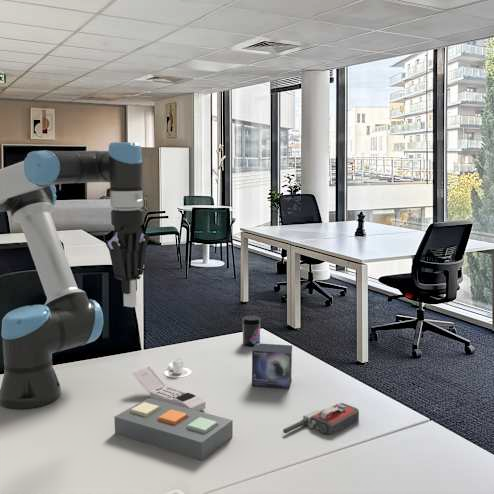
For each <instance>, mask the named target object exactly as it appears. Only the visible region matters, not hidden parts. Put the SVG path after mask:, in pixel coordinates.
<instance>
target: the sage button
mask: <svg viewBox="0 0 494 494" xmlns="http://www.w3.org/2000/svg"><path fill="white" fill-rule="evenodd" d="M216 426H217V422H216V421H213V420H209V419H205V418H202V417H199V418H198V419H196V420H195V421H193V422H192V423H190V424H189V425H188V429H189V430H193V431H196V432H200V433H203V434H207V433H208V432H209V431H211V430H212V429H214V428H215V427H216Z"/></svg>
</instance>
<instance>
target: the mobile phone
mask: <svg viewBox="0 0 494 494" xmlns="http://www.w3.org/2000/svg"><path fill="white" fill-rule="evenodd" d="M132 375H133V377H135V379H136V380H137V381H138V383H140V385H142V386H143V388H144V389H145V390H146V391H147V393H149V395H150V398H151V399H154V400H158V401H162V402H166V403H170V404H173V405H177V406H181V407H185V408H188V409H192V410H196V411H200V412H202V411H203V410H205V409H206V407H207V406H206V405H207V404H206V402H207V401H206V400H205V399H203V398H201V397H200V396H197V394H194V393H192V392H189V391H188V392H186V391H183V390H180V389H178V388H177V389H176V388H174V387H171V386H169V385H166V384H164V382H163V381H162V380H161V379H160V378H159V376H158V375H157V374H156V373H155V371H154V369H152V368H151V366H148V367H144V368H141V369H139V370H135V371H133V372H132Z"/></svg>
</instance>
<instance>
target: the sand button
mask: <svg viewBox="0 0 494 494" xmlns="http://www.w3.org/2000/svg"><path fill="white" fill-rule="evenodd" d="M159 410H160V408H159V406H157V405H153V404H150V403H146V402H143V403H141V404H140V405H138V406H136V407H134V408H132V409H131V413H133V414H137V415H140V416H144V417H148V416H150V415H152V414H154V413H155V412H157V411H159Z"/></svg>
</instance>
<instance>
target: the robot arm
mask: <svg viewBox="0 0 494 494" xmlns="http://www.w3.org/2000/svg"><path fill="white" fill-rule="evenodd" d="M142 155H143V154H142V146H141V145H140V143H139V142H128V141H127V142H126V141H125V142H119V141H117V142H116V141H115V142H110V143H109V145H108V151H106V150H70V151H69V150H47V149H45V150H44V149H43V150H33V151H30V152H28V153H27V155H26V157H25V158H24V160H22V161H19V162H17V163H14V164H12V165H8V166H6V167H3V168H0V213H4V212H10V215H11V218H12V220H13V221H14V222H15V223H19V224H20V227H21V230H22V231H23V234H24V238H25V240H26V244H27V246H28V249H29V252H30V254H31V258H32V260H33V263H34V266H35V270H36V271H37V274H38V277H39V280H40V283H41V285H42V289H43V291H44V295H45V296H46V302H45V303H44V304H33V305H25V306H21V307H16V308H15V309H12V310H10V311H9V312H7V313H6V314H5V315H4V317H2V320H1V331H0V333H1V335H0V336H1V340H2V354H3V356H2V357H3V366H4V367H3V368H4V374H3V377H2V380H1V383H0V384H1V385H0V405H1V406H2V407H4V408H8V409H12V410H13V409H14V410H15V409H16V410H17V409H18V410H27V409H32V408H33V409H34V408H38V407H42V406H45V405H48V404H51V403H53V402H54V401H56V400H57V399H59V397H60V396H61V394H62V393H61V391H62V390H61V383H60V381H59V379H58V376H57V374H56V372H55V369H54V367H53V356H52V355H53V354H54V353H58V352H62V351H65V350H69V349H74V348H77V347H79V346H85V345H87V344H90V343H93V342H95V341H96V340H97V339H98V338H99V337H100V336H101V334H102V331H103V327H104V314H103V309H102V307H101V306H100V304H99V303H98V302H97V301H96V300H94V299H91V298H88V295H87V293H86V291H84V290H82V289H80V288H78V285H77V283H76V280H75V276H74V274H73V272H72V269H71V266H70V264H69V260H68V258H67V256H66V253H65V250H64V247H63V245H62V242H61V239H60V237H59V234H58V231H57V228H56V226H55V223H54V219H53V217H52V215H51V214H52V213H53V212H54V208H55V207H54V205H56V204H55V203H56V200H57V195H56V193H57V188H56V186H55V185H62V184H63V185H64V184H82V183H83V184H86V183H87V184H88V183H91V184H92V183H109V192H110V193H109V195H110V196H109V197H110V207H111V208H113V209H112V210H111V211H110V221H111V225H112V226H113V228H114V229H113V233H112V238H111V239H110V240H106V241H105V245H106V247H107V249H108V251H109V256H110V261H111V266H112V270H113V274H114V278H115V279H117V280H120V281H121V292H122V294H123V307H127V308H135V307H137V291H138V281H137V280H140V279H141V278H142V275H143V274H144V268H145V266H144V265H145V262H146V261H145V260H146V253H147V245H148V242H149V239H150V236H149V235H147V234H144V233H143V229H142V226H143V224H144V223H145V222H144V210H143V209H142V208H143V207H144V202H143V201H144V199H143V198H144V197H143V183H144V182H143V156H142Z"/></svg>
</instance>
